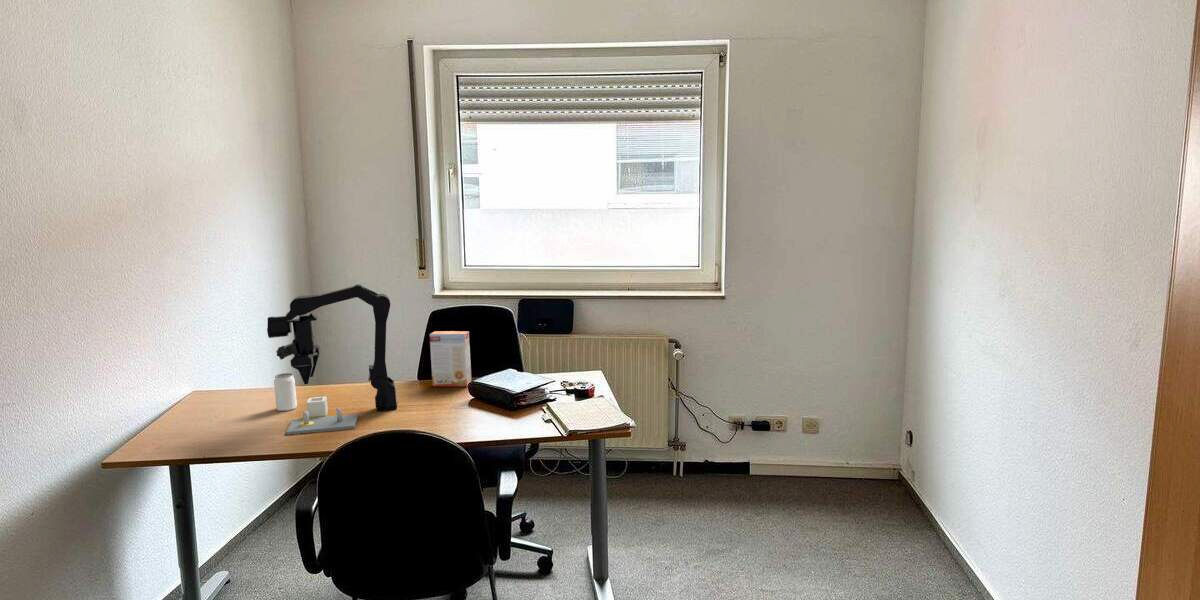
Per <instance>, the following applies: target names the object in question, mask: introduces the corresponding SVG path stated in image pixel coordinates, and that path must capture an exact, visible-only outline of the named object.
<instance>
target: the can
mask: <svg viewBox="0 0 1200 600" xmlns="http://www.w3.org/2000/svg"><path fill="white" fill-rule="evenodd" d="M273 384H274V385H273V386H274V396H275V398H274V399H275V405H276V406H275V407H276V410H277V411H279V412H289V411H293V410H296V408H297V407H298V406H297V403H298V402H297V392H296V390H297V389H296V382H295V377H294V375H293V373H289V372H287V373H278V374H276V375H275V376H274V379H273Z"/></svg>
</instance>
